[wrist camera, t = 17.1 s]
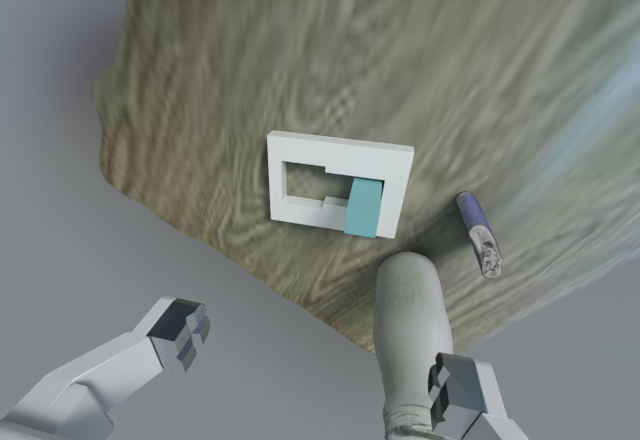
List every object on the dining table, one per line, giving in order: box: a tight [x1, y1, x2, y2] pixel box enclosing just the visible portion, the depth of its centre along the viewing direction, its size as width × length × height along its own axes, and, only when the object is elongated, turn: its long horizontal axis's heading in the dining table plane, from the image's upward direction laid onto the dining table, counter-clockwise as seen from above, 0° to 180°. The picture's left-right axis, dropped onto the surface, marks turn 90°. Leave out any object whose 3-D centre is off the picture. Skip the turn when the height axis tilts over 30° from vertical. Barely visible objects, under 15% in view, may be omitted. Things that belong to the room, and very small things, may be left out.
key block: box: [344, 176, 382, 238], centre depth 41 cm, size 4×4×10 cm
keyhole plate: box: [267, 130, 414, 239], centre depth 45 cm, size 20×14×2 cm
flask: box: [456, 191, 502, 279], centre depth 40 cm, size 9×3×11 cm, turn 29°
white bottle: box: [373, 252, 456, 440], centre depth 40 cm, size 10×10×28 cm
